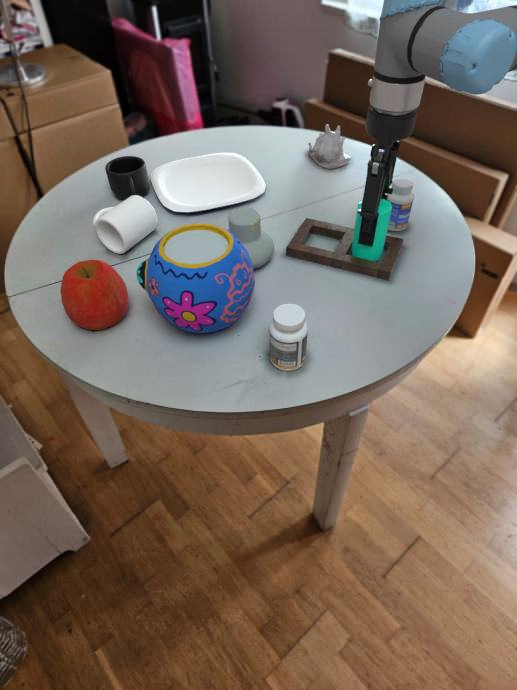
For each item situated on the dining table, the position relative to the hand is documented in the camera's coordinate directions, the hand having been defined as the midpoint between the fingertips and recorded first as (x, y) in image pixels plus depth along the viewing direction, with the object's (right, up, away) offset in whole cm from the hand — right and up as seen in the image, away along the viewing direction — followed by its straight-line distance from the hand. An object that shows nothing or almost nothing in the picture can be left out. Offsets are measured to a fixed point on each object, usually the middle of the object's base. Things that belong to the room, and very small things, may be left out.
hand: (370, 234), depth 89 cm
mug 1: (-51, +14, +22) cm, 57 cm away
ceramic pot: (-30, -16, -6) cm, 35 cm away
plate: (-33, +17, +24) cm, 45 cm away
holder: (-4, -2, +5) cm, 7 cm away
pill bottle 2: (+8, +4, +11) cm, 14 cm away
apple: (-49, -16, -6) cm, 52 cm away
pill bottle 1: (-17, -23, -14) cm, 32 cm away
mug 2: (-49, +1, +10) cm, 50 cm away
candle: (0, -3, +3) cm, 5 cm away
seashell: (-4, +27, +32) cm, 42 cm away
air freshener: (-24, -4, +4) cm, 24 cm away
